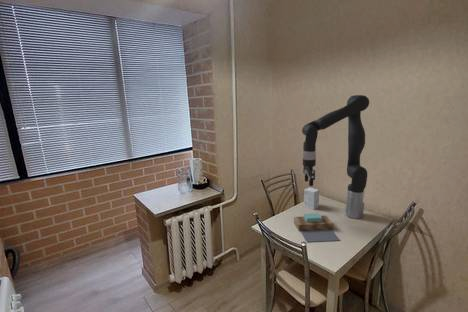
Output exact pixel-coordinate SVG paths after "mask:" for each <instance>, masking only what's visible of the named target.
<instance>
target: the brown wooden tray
mask: <svg viewBox="0 0 468 312" xmlns="http://www.w3.org/2000/svg"><path fill="white" fill-rule="evenodd" d="M320 216H321V217H322V222H306V220H305V219H304V215H303V216H302V215H301V216H293V224H294V226H295V227H296V229H297V231H298V232H301V231H311V230H332V231H333V229H334V223H333V221H332V220H331V219H330V218H329V217H328V216H327V215H326V214H325V215H323V214H322V215H320Z"/></svg>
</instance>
